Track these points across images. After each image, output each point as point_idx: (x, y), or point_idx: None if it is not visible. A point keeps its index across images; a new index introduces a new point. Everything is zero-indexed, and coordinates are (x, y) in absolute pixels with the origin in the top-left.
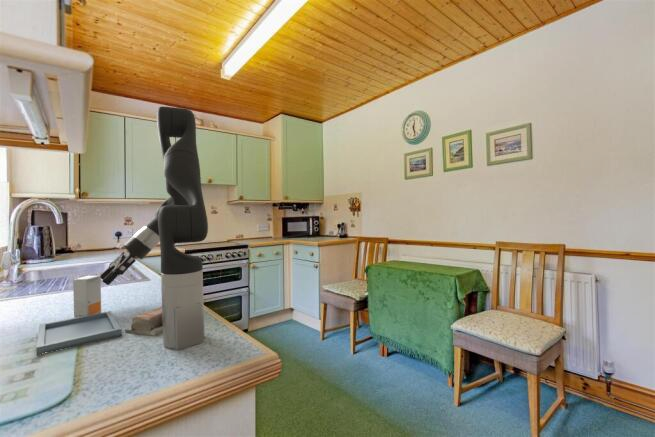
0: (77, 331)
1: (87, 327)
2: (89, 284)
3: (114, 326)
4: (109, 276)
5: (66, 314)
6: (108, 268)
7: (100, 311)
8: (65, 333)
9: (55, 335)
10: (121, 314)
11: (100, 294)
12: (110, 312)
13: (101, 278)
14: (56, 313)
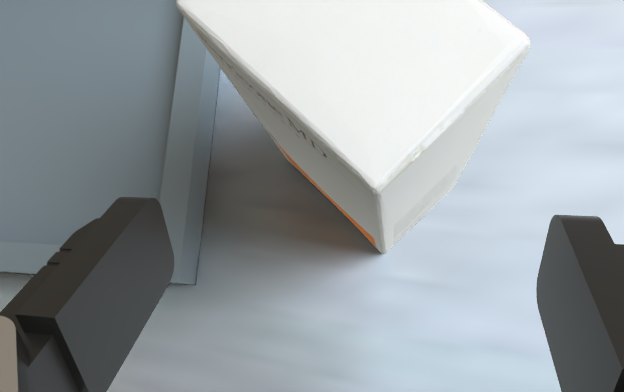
0: (8, 91)
1: (33, 136)
2: (230, 74)
3: None
4: (39, 271)
5: (526, 58)
6: (618, 367)
7: (376, 247)
8: (27, 44)
9: (37, 7)
10: (200, 355)
11: (374, 231)
12: None
13: (548, 242)
14: (620, 4)
